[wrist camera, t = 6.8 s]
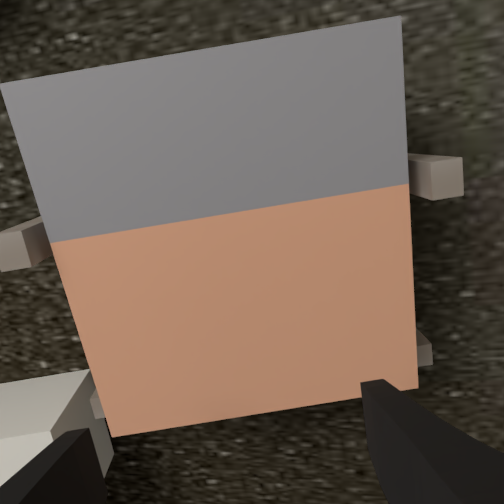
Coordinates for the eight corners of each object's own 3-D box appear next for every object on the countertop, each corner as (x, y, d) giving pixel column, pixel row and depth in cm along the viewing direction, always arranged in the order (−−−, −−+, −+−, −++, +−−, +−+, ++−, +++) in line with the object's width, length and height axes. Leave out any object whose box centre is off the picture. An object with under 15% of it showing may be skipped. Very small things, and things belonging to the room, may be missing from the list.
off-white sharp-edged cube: (114, 452, 24) (82, 532, 19) (22, 467, 24) (-34, 551, 19) (90, 368, 22) (50, 431, 18) (-7, 384, 23) (-74, 451, 18)
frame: (408, 344, 23) (474, 423, 16) (115, 392, 23) (69, 488, 16) (381, 23, 19) (453, -36, 13) (33, 82, 19) (-68, 53, 13)
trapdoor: (392, 347, 20) (418, 387, 17) (128, 390, 20) (111, 437, 17) (370, 31, 16) (401, 15, 13) (40, 87, 16) (-1, 83, 13)
